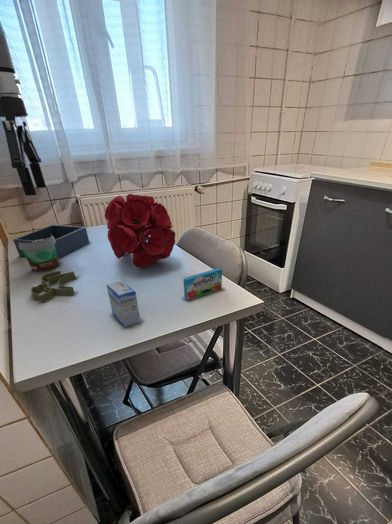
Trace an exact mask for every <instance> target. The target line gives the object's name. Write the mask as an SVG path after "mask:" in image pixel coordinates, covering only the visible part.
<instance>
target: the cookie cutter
mask: <svg viewBox="0 0 392 524" xmlns="http://www.w3.org/2000/svg"><path fill="white" fill-rule="evenodd" d="M76 279H77V277H76V274H75V271H69V272H65V273H62V270H57V271H51V272H48V273H46V274H43V275H41V277H40V280H41V283H39V284H38V285H36V286H31V288H30V293H31V295H32V298H33V299H34V300H36V301H40V303H44V302H46V301H49V300H51V299H53V298H52V297H54V296H73V295H75V290H74V289H75V288H74V287H73V286H66V285H64V284H66V283H68V282H71V281H73V280H76ZM48 283H49V285H54V284H57V285H58V287H52V286H48ZM42 291H44V293H42V294H41V292H42Z"/></svg>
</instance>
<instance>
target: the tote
mask: <svg viewBox="0 0 392 524" xmlns="http://www.w3.org/2000/svg"><path fill="white" fill-rule="evenodd" d="M51 235H52V236H53V237H54V238H55V240H56V243H55V248H56V253H57V258H58V260H59V259H61V258H63V257H65V256H68V255H69V254H71V253H72V252H75V251H77V250H79V249H81V248H83V247H84V246H87V245H88V244H90V238H89V235H88V231H87V228H86V226H74V225H59V224H50V225H48V226H45V227H42V228H39V229H37V230H35V231H32V232H29V233H27V234H24V235H21V236H19V237H16V238H13V239H12V241H13V243H14V246H15V249H16V251H17V253H18V256H19V257H21V258H26V257H25V255H24V253H23V251H22V249H19V245H18V244H19V243H29V242H32V241H34V240H37V239H45V238H49V237H51ZM18 242H19V243H18Z"/></svg>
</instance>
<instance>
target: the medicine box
mask: <svg viewBox="0 0 392 524" xmlns="http://www.w3.org/2000/svg"><path fill="white" fill-rule="evenodd" d="M106 290H107V295H108V299H109V304H110V308H111V313H112V315H113V316H114V317H115V319H117V321H119V323H120V324H121V325H122V326H123V327H125V328H127V327H129V326H132V325H135V324H138V323H140V322H141V315H140V309H139V304H138V297H137V293H136V291H135V290H134V289H133V288H132V287H131V286H129V285H128V284H127V283H125V282H124V281H123V280H118V281H114V282H111V283H107V284H106Z"/></svg>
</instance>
